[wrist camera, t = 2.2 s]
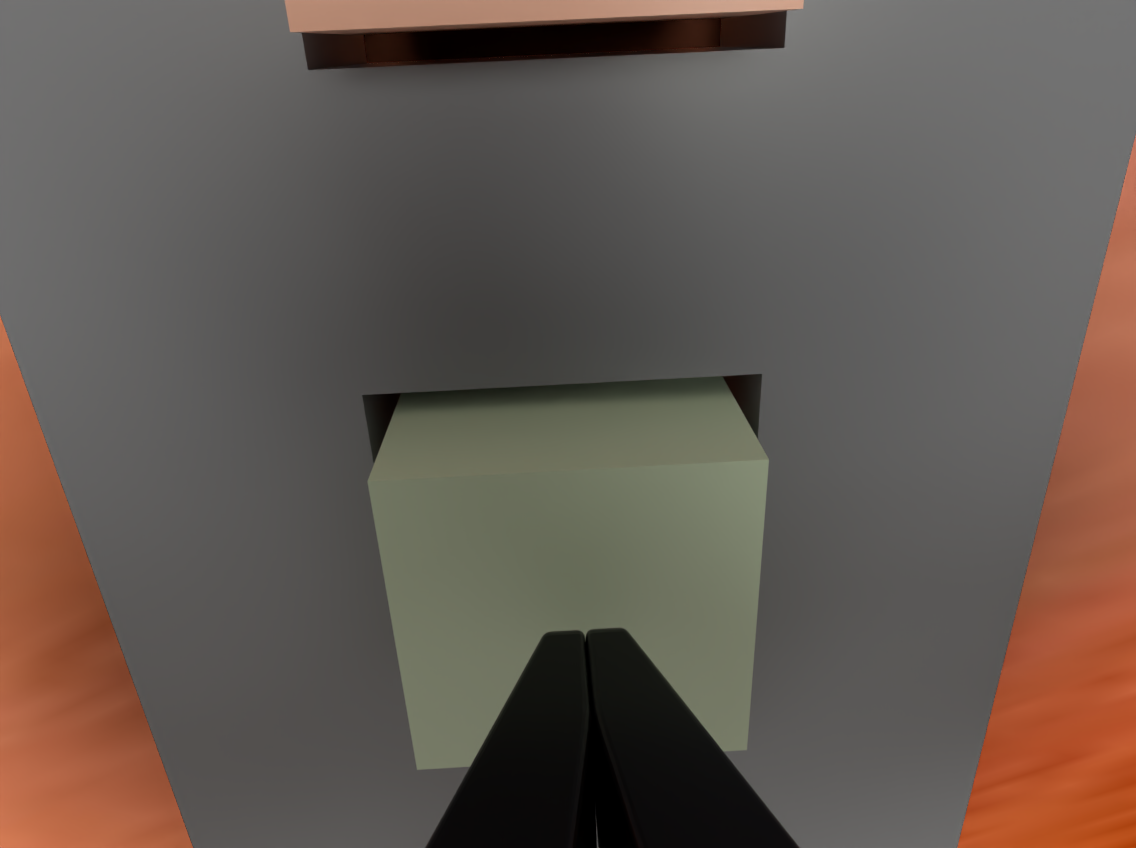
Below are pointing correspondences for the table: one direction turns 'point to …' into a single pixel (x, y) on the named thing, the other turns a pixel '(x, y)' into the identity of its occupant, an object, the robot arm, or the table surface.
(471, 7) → the terracotta button
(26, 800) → the table surface
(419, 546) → the sage button
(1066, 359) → the console
